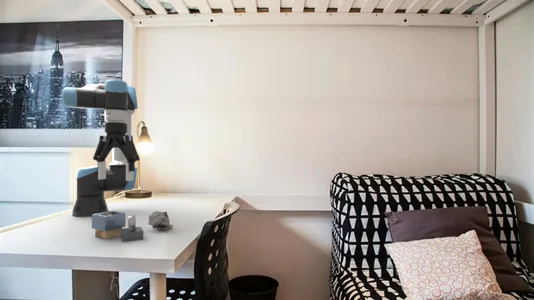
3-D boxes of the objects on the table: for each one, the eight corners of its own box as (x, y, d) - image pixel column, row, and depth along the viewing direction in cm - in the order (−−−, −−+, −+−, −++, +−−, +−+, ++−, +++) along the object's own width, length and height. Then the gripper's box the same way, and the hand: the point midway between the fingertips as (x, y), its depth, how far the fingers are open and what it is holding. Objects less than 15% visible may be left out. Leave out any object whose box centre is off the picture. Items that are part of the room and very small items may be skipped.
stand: (95, 236, 111) (95, 214, 111) (111, 232, 117) (111, 211, 117) (105, 238, 108) (105, 216, 108) (122, 234, 114) (122, 213, 114)
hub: (120, 237, 110) (120, 215, 110) (140, 234, 114) (141, 213, 114) (122, 242, 105) (122, 218, 105) (143, 239, 108) (143, 216, 108)
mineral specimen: (167, 241, 122) (145, 233, 124) (177, 225, 128) (156, 217, 129) (164, 229, 115) (141, 220, 117) (175, 212, 121) (153, 204, 122)
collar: (91, 228, 111) (91, 214, 111) (112, 223, 118) (112, 210, 118) (105, 231, 107) (105, 216, 107) (125, 226, 114) (125, 213, 114)
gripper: (82, 122, 114) (82, 179, 114) (134, 120, 105) (133, 182, 105) (100, 124, 121) (99, 177, 121) (150, 122, 112) (149, 180, 112)
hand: (115, 179), depth 113 cm, fingers open, 13 cm apart
